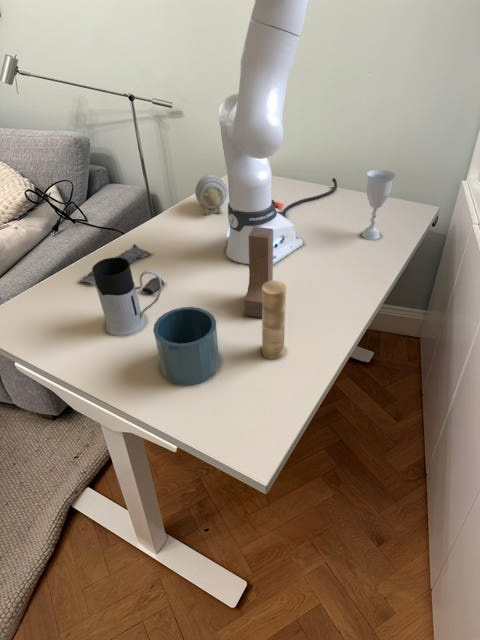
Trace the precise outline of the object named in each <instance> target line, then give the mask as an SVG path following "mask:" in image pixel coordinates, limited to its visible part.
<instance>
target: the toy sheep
mask: <svg viewBox="0 0 480 640" xmlns="http://www.w3.org/2000/svg"><path fill="white" fill-rule="evenodd" d="M194 192H195V198H196V200H197V202H198V203H199V205H200V206H202V207H203V209H204V214H205V215H209V213H210V211H209V210H215V209H216V212H217V214H221V213H222V206H223V205H224V203H225V202H226V200H227V198H228V196H229V190H228V186H227V183H226V182H225V181H224V180H223V179H222V178H221V177H220V176H218V175H215V174H207V175H204V176H202V177H201V178H200V180H198V182H197V184H196V186H195V190H194Z"/></svg>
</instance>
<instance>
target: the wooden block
mask: <svg viewBox="0 0 480 640" xmlns="http://www.w3.org/2000/svg"><path fill="white" fill-rule="evenodd" d="M248 239H249V264H248V271H249V273H248V274H249V275H248V286H247V290H246V291H247V292H246V295H245V297H244V299H243V307H244V315H245V316H247V317H254V318H259V319H262V286H263V284H264V283H266V282H268V281H274V264H273V229H270V228H260V227H254V228H253V229H252V231H251V233H250V234H249V236H248Z"/></svg>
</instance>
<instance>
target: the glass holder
mask: <svg viewBox="0 0 480 640" xmlns="http://www.w3.org/2000/svg"><path fill="white" fill-rule="evenodd" d="M91 271H93V274H94V278H95V284H94V285H95V288H96V292H97V295H98V298H99V302H100V305H101V309H102V312H103V315H104V319H105V330H106V331H107V333H108V334H111V335H112V336H115V337H124V336H125V337H126V336H130V335H133V334H135V333H137V332H139V331H140V330H141V329H142V328H143V327H144V325H145V323H146V319H145V317H144V315H143V314H144V313H145V312H146V311H148V310H149V309H150V308H151V307H152V306H154V305H155V304H156V303H157V302H158V301H159V299H160V295H161V293H162V288H163V286H162V284H161V279H162V278H161V276H160V275H159V273H158V272H156V271H154V270H144V271H143V272H142V273H141V274H140V276H139V286H136V283H135V281H134V278H133V273H132V269H131V264H130V263H129V262H128V260H126V259H124V258H119V257H117V256H113V257H108V258H104V259H101V260H99V261H98V262H96V263H95V264H94V265H93V266H92V269H91ZM146 274H151V275H154V276H155V277H157V278H158V279H159V284H160V289H159V290H158V294H157V296H156V298H155V299H154V300H153V301H152V302H151V303H150V304H148V305H147V306H146V307H145V308H144V309H143V310H141V306H140V301H139V297H138V292H137V290H141V289H142V287H143V276H144V275H146ZM160 278H161V279H160Z"/></svg>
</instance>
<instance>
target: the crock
mask: <svg viewBox="0 0 480 640" xmlns="http://www.w3.org/2000/svg"><path fill="white" fill-rule="evenodd" d="M217 328H218V327H217V320H216V318H215V316H214V315H213V314H212V313H211V312H209V311H208V310H206V309H203V308H202V307H201V308H200V307H195V306H182V307H178V308H174V309H171V310H169V311H167V312H165V313H163V314H162V315H161V316H159V317H158V318H157V319H156V321H155V323H153V330H152V332H153V336H154V341H155V345H156V351H157V355H158V360H159V364H160V369H161V373H162V375H163V376H164V377H165V379H167V381H169V382H171V383H173V384H176V385H180V386H193V385H199V384H201V383H204V382H206V381H207V380H209V379H211V378H212V377H213V376H214V375H215V374H216V373H217V371H218V370H219V368H220V367H219V366H220V351H219V350H220V349H219V339H218V338H219V337H218V329H217Z"/></svg>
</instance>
